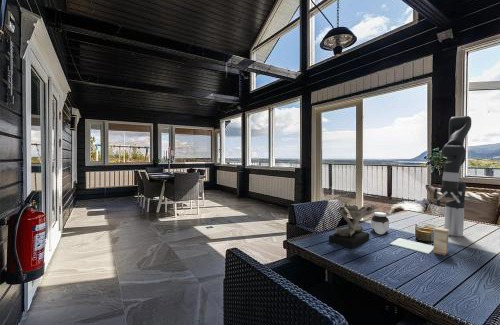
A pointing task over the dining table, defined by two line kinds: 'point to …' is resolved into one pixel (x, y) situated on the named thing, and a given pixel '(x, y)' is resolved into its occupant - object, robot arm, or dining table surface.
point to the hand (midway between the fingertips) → (447, 207)
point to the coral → (351, 227)
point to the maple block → (441, 241)
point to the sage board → (413, 245)
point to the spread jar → (380, 222)
